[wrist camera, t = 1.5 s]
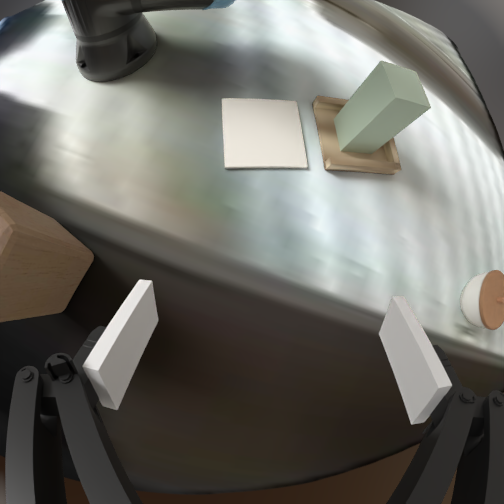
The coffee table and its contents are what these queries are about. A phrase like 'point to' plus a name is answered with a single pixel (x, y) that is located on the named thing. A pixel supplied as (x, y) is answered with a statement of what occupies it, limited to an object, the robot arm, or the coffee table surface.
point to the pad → (262, 134)
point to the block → (36, 262)
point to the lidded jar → (484, 300)
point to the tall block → (380, 108)
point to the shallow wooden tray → (338, 160)
